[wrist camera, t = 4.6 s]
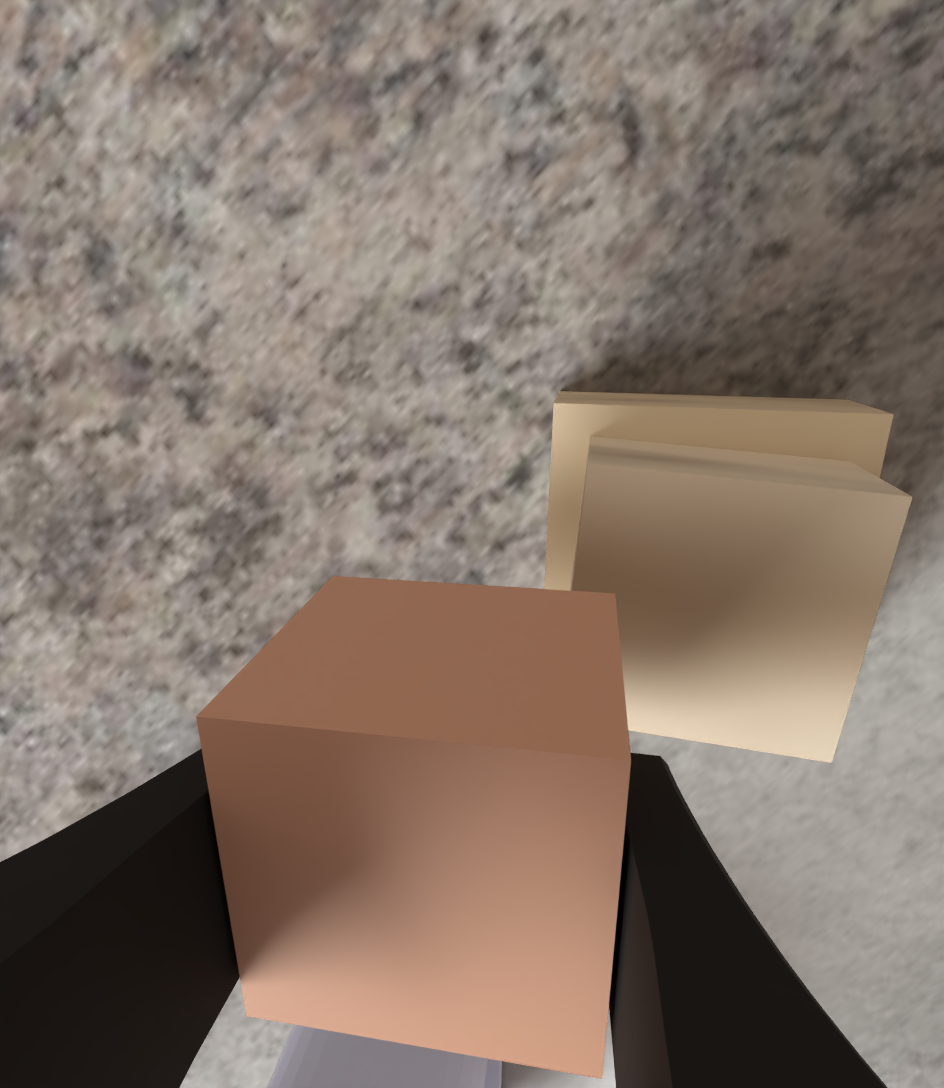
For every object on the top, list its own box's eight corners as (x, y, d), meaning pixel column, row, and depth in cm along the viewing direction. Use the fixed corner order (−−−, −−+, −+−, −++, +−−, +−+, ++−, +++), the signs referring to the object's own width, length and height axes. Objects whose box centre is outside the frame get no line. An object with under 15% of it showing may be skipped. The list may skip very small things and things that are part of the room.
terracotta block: (597, 830, 11) (601, 1078, 8) (351, 800, 12) (246, 1016, 8) (615, 593, 10) (631, 760, 6) (333, 576, 11) (196, 716, 7)
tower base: (794, 647, 19) (829, 706, 16) (548, 626, 20) (540, 676, 17) (842, 397, 16) (893, 414, 14) (560, 389, 17) (553, 403, 15)
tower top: (790, 684, 16) (831, 762, 13) (562, 651, 17) (555, 718, 14) (849, 460, 14) (912, 496, 11) (589, 435, 15) (588, 463, 12)
